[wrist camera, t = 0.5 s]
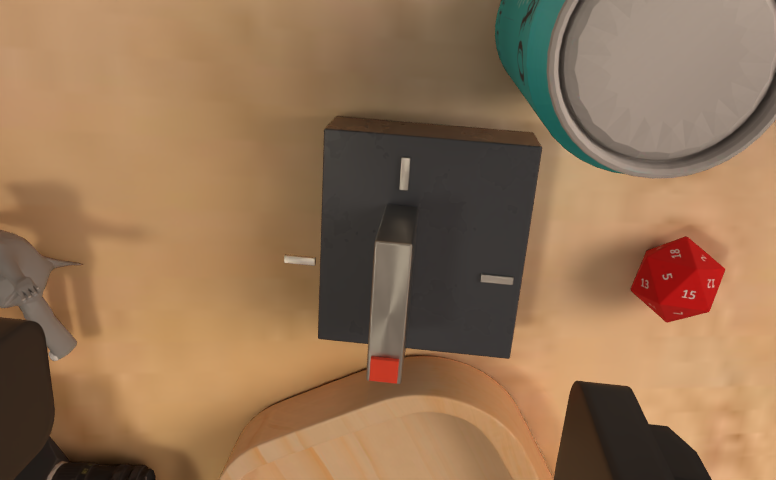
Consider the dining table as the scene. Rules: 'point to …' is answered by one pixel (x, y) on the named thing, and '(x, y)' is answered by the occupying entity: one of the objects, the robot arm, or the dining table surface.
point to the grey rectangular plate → (391, 293)
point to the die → (678, 280)
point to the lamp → (392, 431)
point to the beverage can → (645, 78)
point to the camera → (77, 468)
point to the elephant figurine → (32, 289)
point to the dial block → (428, 229)
